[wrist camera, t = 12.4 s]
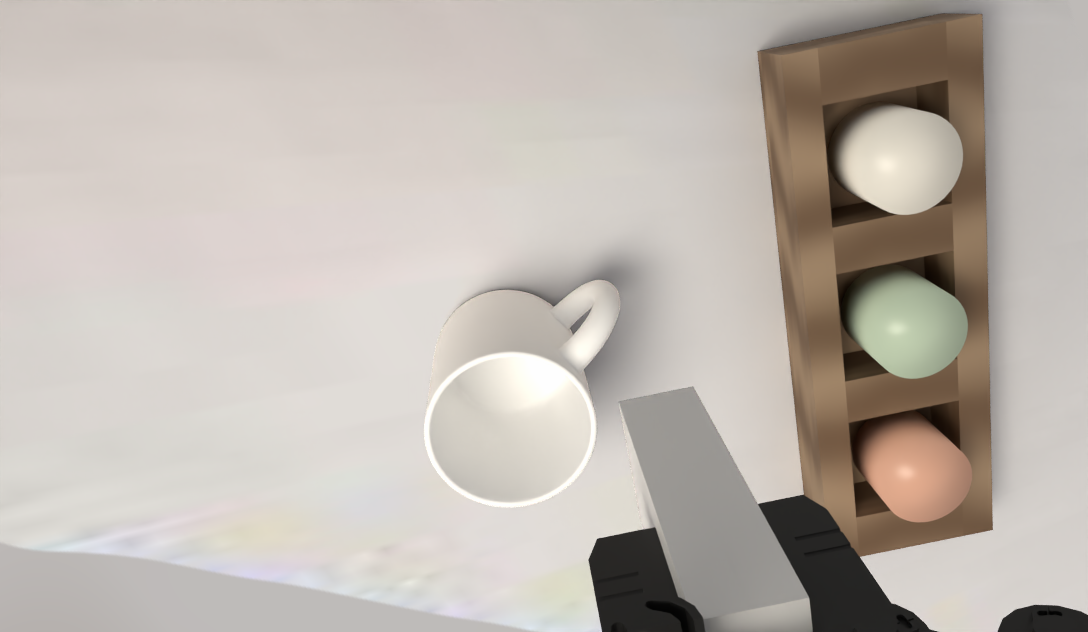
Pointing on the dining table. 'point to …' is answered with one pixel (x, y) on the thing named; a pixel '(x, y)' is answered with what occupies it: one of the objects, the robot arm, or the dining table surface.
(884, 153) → the white short cylinder
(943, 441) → the peach rounded piece
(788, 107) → the wooden compartment tray
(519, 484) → the mug
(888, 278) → the pale green rounded piece
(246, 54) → the dining table surface
